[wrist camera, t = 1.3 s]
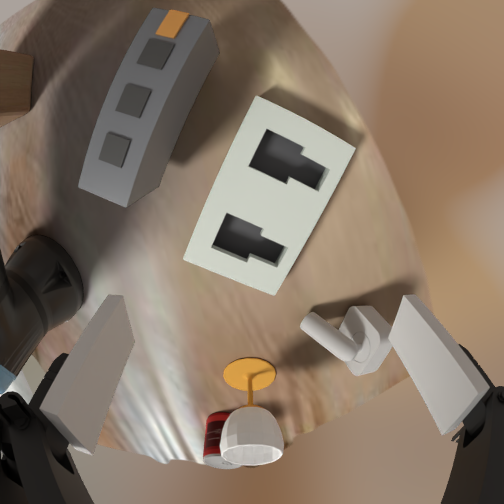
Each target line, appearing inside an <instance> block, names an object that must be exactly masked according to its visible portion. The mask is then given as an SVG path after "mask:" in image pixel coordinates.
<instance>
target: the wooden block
mask: <svg viewBox="0 0 504 504" xmlns="http://www.w3.org/2000/svg"><path fill="white" fill-rule="evenodd" d="M33 62H34V59H33V56H32V55H27V54H22V53H17V52H12V51H6V50H0V127H2V126H4V125H6V124H7V123H9V122H11V121H13V120H15V119H17V118H19V117H21V116H23V115H25V114H27V113H28V112H29V110H30V105H31V83H32V71H33Z"/></svg>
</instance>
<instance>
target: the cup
mask: <svg viewBox="0 0 504 504" xmlns="http://www.w3.org/2000/svg"><path fill="white" fill-rule="evenodd" d="M275 376H276V372H275V369H274V367H273V366H272V365H271V364H270V363H269V362H267V361H264V360H262V359H259V358H243V359H238V360H236V361H234V362H232V363H230V364H229V365H228V366H227V367H226V368H225V369H224V376H223V377H224V379H225V381H226V382H227V383H228V384H229V385H231V386H232V387H233V388H236V389H239V390H245V391H248V405H245V406H242V407H240V408H238V409H236V410H234V411H233V412H232V413H231V414H230V416H229V417H228V419H227V420H226V422H225V424H224V427H223V430H222V435H221V442H220V450H221V456H222V457H223V458H224V459H225V460H226V461H229V462H231V463H234V464H240V465H261V464H267V463H270V462H274V461H276V460H277V459H279V458H280V457H281V456H282V454H283V447H284V442H283V437H282V433H281V430H280V428H279V426H278V424H277V421H276V419H275V418H274V416H273V415H272V414H271V413H270V412H269V411H268V410H266V409H264V408H262V407H260V406H257V405H253V391H254V390H259V389H262V388H264V387H267V386H269V385H270V384H271V383H272V382H273V381H274V379H275Z"/></svg>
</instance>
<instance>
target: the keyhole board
mask: <svg viewBox="0 0 504 504" xmlns="http://www.w3.org/2000/svg"><path fill="white" fill-rule="evenodd" d="M355 149H356V148H355V147H353V146H351V145H350V144H348V143H347V142H345V141H343V140H342V139H340V138H338V137H337V136H335V135H333V134H331V133H330V132H328V131H326V130H324V129H323V128H321V127H319V126H317V125H315V124H314V123H312V122H310V121H308V120H306V119H304V118H302V117H300V116H298V115H297V114H295V113H293V112H291V111H289V110H287V109H284V108H282V107H280V106H278V105H276V104H274V103H272V102H270V101H268V100H265V99H263V98H261V97H259V96H256V97H255V99H254V100H253V102H252V104H251V106H250V108H249V110H248V112H247V114H246V116H245V118H244V120H243V122H242V124H241V126H240V128H239V131H238V133H237V135H236V137H235V139H234V141H233V143H232V145H231V147H230V149H229V152H228V154H227V156H226V158H225V160H224V162H223V165H222V167H221V169H220V171H219V173H218V176H217V178H216V180H215V182H214V185H213V187H212V189H211V192H210V194H209V196H208V199H207V201H206V203H205V206H204V208H203V210H202V213H201V215H200V218H199V220H198V222H197V225H196V227H195V230H194V232H193V235H192V237H191V240H190V242H189V245H188V247H187V250H186V253H185V255H184V258H183V260H185V261H188V262H190V263H193V264H195V265H198V266H200V267H203V268H205V269H207V270H210V271H212V272H215V273H217V274H220V275H222V276H225V277H227V278H230V279H232V280H235V281H237V282H240V283H243V284H245V285H248V286H250V287H253V288H255V289H258V290H261V291H263V292H266V293H268V294H271V295H274V296H275V294H276V293H277V291H278V289H279V287H280V286H281V284H282V282H283V281H284V279H285V277H286V276H287V274H288V272H289V270H290V269H291V267H292V265H293V264H294V262H295V260H296V258H297V257H298V255H299V253H300V251H301V250H302V248H303V246H304V244H305V243H306V241H307V239H308V237H309V235H310V234H311V232H312V230H313V228H314V226H315V225H316V223H317V221H318V219H319V217H320V216H321V214H322V212H323V210H324V208H325V206H326V205H327V203H328V201H329V199H330V197H331V195H332V193H333V191H334V190H335V188H336V186H337V184H338V182H339V180H340V178H341V176H342V174H343V172H344V171H345V169H346V167H347V165H348V163H349V161H350V159H351V157H352V155H353V153H354V151H355Z"/></svg>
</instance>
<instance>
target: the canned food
mask: <svg viewBox="0 0 504 504" xmlns="http://www.w3.org/2000/svg"><path fill="white" fill-rule="evenodd" d="M230 414H231V413H227V412H218V413H214V414H211V415H210V416H209V417H208V419H207V422H206V432H205V442H204V453H203V462H204V463H205V464H207V465H209V466H211V467H215V468H220V469H233V468H238V467H240V466H242V465H240V464H234V463H231V462H229V461H226V460H225V459H224V458H223V457H222V456H221V450H220V442H221V435H222V430H223V427H224V424H225V422H226V420H227V419H228V417H229V416H230Z"/></svg>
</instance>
